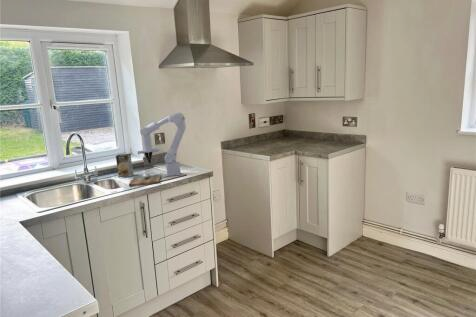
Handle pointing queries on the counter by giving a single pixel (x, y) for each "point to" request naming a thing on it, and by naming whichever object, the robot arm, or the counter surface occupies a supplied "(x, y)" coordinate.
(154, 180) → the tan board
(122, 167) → the coffee box
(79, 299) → the counter surface
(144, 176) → the lock bar
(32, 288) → the counter surface
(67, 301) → the counter surface
